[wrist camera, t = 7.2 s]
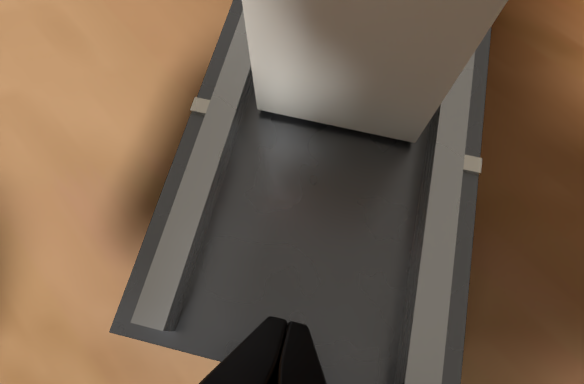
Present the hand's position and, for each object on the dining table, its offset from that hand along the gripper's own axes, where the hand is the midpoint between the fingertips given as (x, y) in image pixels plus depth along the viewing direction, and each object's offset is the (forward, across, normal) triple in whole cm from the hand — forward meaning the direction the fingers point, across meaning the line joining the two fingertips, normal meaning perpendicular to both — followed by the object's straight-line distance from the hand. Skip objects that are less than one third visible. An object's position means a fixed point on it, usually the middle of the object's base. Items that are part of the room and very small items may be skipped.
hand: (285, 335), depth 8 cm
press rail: (+10, 0, -2) cm, 10 cm away
